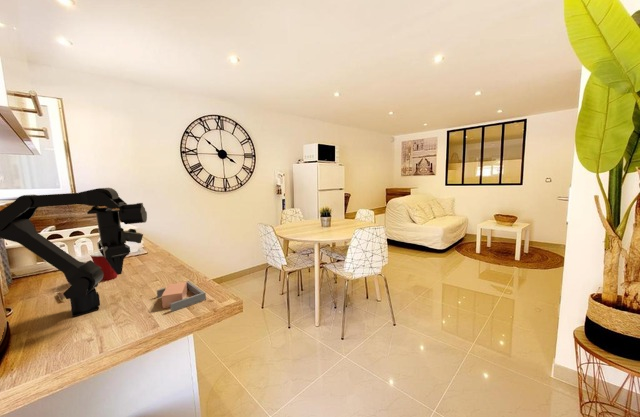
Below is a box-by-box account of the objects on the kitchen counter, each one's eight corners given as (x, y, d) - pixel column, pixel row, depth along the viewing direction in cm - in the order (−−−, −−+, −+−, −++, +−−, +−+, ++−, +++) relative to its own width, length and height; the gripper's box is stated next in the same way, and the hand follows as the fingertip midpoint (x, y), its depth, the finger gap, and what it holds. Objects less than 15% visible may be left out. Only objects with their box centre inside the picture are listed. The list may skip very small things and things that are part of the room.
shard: (62, 304, 90) (61, 299, 90) (39, 305, 90) (38, 300, 89) (88, 290, 101) (87, 286, 101) (67, 291, 100) (67, 287, 100)
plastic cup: (130, 274, 116) (127, 249, 114) (104, 284, 105) (101, 256, 104) (113, 272, 119) (110, 247, 117) (86, 281, 108) (82, 254, 107)
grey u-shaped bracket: (171, 311, 82) (171, 304, 82) (157, 296, 93) (156, 290, 93) (206, 299, 90) (205, 292, 90) (189, 287, 101) (188, 281, 101)
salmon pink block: (162, 308, 85) (161, 295, 84) (169, 295, 94) (168, 284, 94) (182, 305, 87) (181, 292, 86) (187, 293, 96) (186, 281, 96)
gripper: (145, 224, 84) (152, 270, 86) (132, 219, 96) (138, 259, 98) (101, 230, 76) (109, 281, 78) (93, 224, 88) (101, 268, 90)
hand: (116, 271), depth 86 cm, fingers open, 9 cm apart
